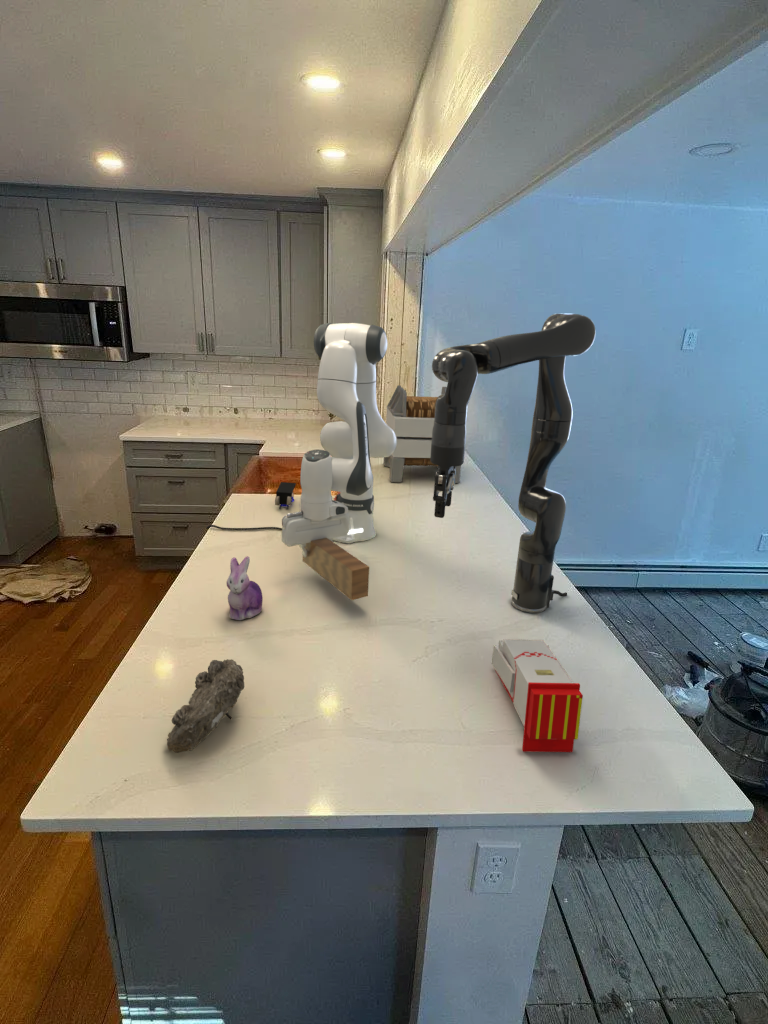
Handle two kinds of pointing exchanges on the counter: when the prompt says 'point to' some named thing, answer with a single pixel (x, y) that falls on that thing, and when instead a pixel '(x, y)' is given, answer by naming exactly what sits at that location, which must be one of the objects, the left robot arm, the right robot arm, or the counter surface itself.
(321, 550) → the bar
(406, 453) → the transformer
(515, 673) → the toy
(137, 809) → the counter surface
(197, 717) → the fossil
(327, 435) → the left robot arm
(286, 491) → the figurine character
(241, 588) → the figurine
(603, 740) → the counter surface
